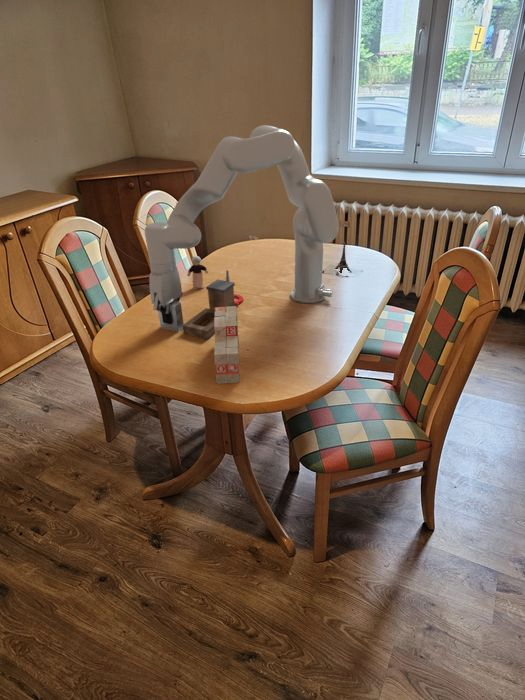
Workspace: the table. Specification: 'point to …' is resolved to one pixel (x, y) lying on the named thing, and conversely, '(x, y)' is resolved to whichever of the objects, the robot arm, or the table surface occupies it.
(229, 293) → the post socket
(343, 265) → the eiffel tower figurine
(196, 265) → the grandmother figurine
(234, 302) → the tow hook
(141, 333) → the table surface
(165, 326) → the tall grey box
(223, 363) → the stack of blocks
